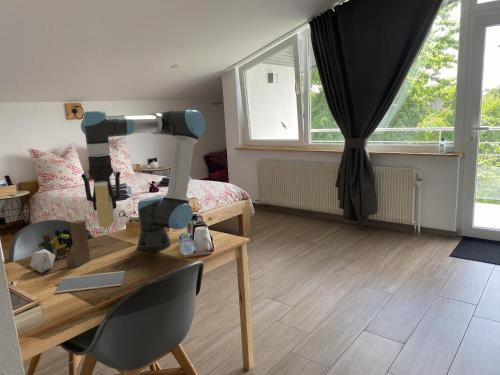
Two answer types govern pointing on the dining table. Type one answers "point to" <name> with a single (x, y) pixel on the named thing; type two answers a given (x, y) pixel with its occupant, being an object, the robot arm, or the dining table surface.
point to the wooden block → (78, 244)
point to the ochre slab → (103, 203)
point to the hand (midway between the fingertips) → (106, 217)
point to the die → (42, 260)
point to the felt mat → (90, 282)
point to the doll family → (59, 242)
